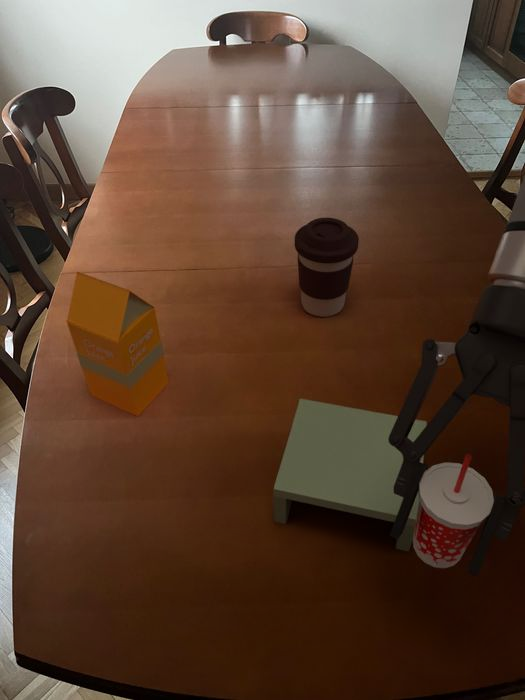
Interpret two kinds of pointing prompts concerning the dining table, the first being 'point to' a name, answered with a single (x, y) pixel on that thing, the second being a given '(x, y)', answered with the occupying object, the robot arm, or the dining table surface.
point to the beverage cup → (449, 511)
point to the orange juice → (117, 344)
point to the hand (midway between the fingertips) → (433, 551)
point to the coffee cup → (325, 264)
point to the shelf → (343, 464)
